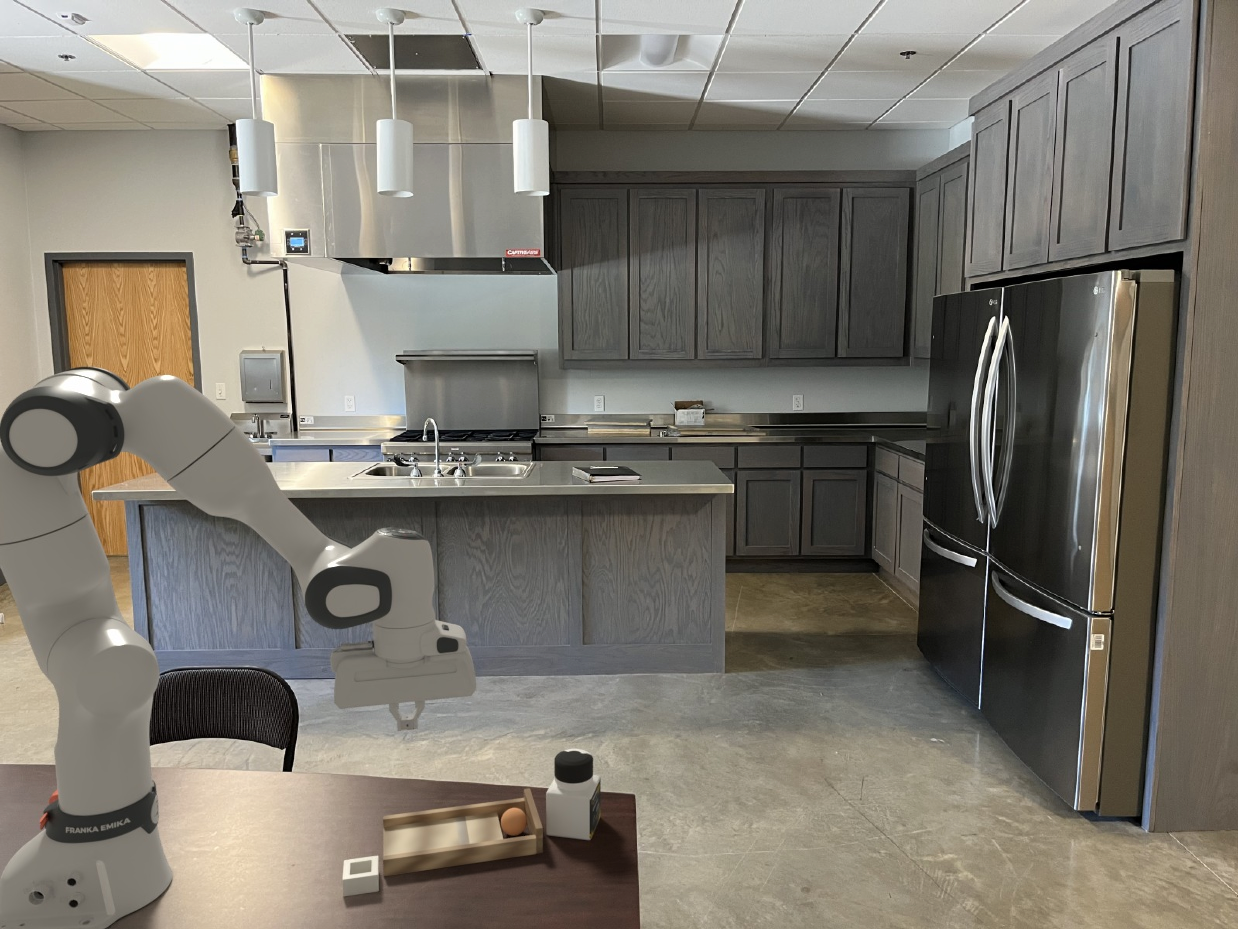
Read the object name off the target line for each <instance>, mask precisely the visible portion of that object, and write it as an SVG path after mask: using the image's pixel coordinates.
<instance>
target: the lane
mask: <svg viewBox="0 0 1238 929" xmlns="http://www.w3.org/2000/svg"><path fill="white" fill-rule="evenodd" d="M510 808H518V809H521V810H522V811H523V812H524V813H525V815H526V818H527V827H528V831H529V835H525V836H524V835H523V836H515V837H510V838H509V837H508V838H504V837H503V836H504V835H503V832H502V827H501V822H500V820H501V818H502V816H503V814H504V813H505V812H506V811H507V810H508V809H510ZM382 823H383V824H382V826H383V827H382V829H383V832H382V833H383V834H382V836H383V837H382V838H383V842H382V844H383V845H382V846H383V847H382V849H383V850H382V851H383V855H382V868H383V872H382V873H383V877H389V876H395V875H401V874H408V873H415V872H421V871H428V870H436V869H442V868H450V867H455V866H456V867H458V866H463V865H470V864H477V863H483V862H491V861H497V860H503V859H510V858H516V857H524V856H532V855H536V854H537V855H538V854H543V853H544V839H543V838H544V834H543V833H544V827H543V825H542V822H541V818H540V815H539V811H538V810H537V806H536V803H535V800H534V796H533V795H532V791H531V788H529V787H528V788H524V789H523V797H520V798H513V799H512V798H511V799H506V800H504V799H503V800H497V801H495V800H494V801H490V802H481V803H475V804H474V803H472V804H466V805H457V806H450V807H444V808H442V807H441V808H435V809H428V810H427V809H426V810H420V811H412V812H411V811H410V812H404V813H397V814H396V813H395V814H388V815H382Z"/></svg>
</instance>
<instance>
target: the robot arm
mask: <svg viewBox="0 0 1238 929" xmlns="http://www.w3.org/2000/svg"><path fill="white" fill-rule="evenodd" d="M121 453H127V454H132V455H134V456H136V457H137V458H139V459H141V460H143V462H145V463H146V464H147V465H149V466H150V467H151V468H152V470H154V471H155V472H156V473H157V474H158V475H159V476H160V477H161V478H162V479H163V480H164V481H166V483H167V484H168V485H169V486H170V487H171V488H172V489H174V491H175V492H177V493H178V495H180V496H181V497H182V498H184V499H185V500H186V501H188V502H190V503H191V504H192V505H193V506H195V507H196V508H198V509H200V510H201V511H203V512H204V513H206V514H208V515H209V516H214V517H222V518H223V517H224V518H230V519H232V520H236V521H239V522H242V523H243V524H245V525H246V526H248V527H249V528H251V529H252V530H254V531H255V532H256V533H257V534H258V535H259V536H260V537H261V538H262V539H264V541H266V542H267V543H268V544H269V545H270V547H272V548H273V549H274V550H275V551H276V552H277V553H278V555H280V556H281V557H282V558H283V559H285V560H286V561H287V562H288V563H289V565H290V567H291V568H292V571H293V572H294V575H295V579H296V581H297V585H298V588H299V589H300V591H301V594H302V597H303V598H302V599H303V603H304V605H305V610H306V611H307V613H308V616H310V618H311V620H313V621H314V622H315V623H316V624H318V625H319V626H322V627H323V628H327V629H332V630H344V629H349V628H354V627H357V626H362V625H365V624H369V623H371V622H372V637H373V640H366V641H359V642H358V641H357V642H344V643H341V644H340V646H337V647H335V648H334V649H333V650H332V651H331V652H330V656H329V661H330V669H331V671H332V673H333V674H335V676H334V687H333V692H334V693H333V703H334V705H335V706H336V707H337V708H339V710H340V709H342V710H343V709H344V710H345V709H353V708H364V707H372V706H373V707H374V706H383V705H384V706H385V705H388V712H389V713H390V714H391V716H392V717H393V718H394V720H395V721H396V722H397V724H396V725H397V726H396V728H397V732H402V731H403V732H404V731H413V730H418V726H419V724H418V719H419V718H420V716H421V715H422V713H423V711H424V709H425V708H426V706H425V702H426V701H433V700H434V701H435V700H436V701H437V700H444V699H446V700H447V699H455V698H457V699H458V698H465V697H471V696H473V695H474V693H475V692H476V690H477V677H476V671H475V665H474V661H473V658H472V654H471V651H470V648H469V647H468V646H467V634H466V632H465V630H464V628H463V627H462V626H461V625H458V624H454V623H450V622H445V621H441V620H437V619H436V611H435V609H434V606H433V595H434V592H435V569H434V560H433V553H432V548H431V545H430V542H429V540H428V539H427V538H426V537H425V536H423V535H422V534H421V533H420V532H417V531H415V530H412V529H408V528H403V527H391V526H390V527H383V528H382V527H381V528H379V529H377V530H375V531H374V532H373V534H372V535H371V536H369V537H368V538H367V539H365V540H364V541H362V542H361V543H359V544H358V545H356V546H353V545H351V544H350V543H348V542H345V541H343V540H340V539H337V538H335V537H333V536H329V535H328V534H325V533H324V532H323V531H321V530H320V529H319V527H317V526H316V525H315V524H314V523H313V522H312V521H311V520H310V519H309V518H308V516H306V515H305V514H304V512H302V511H301V510H300V509H299V507H297V506H296V505H295V504H294V503H293V502H292V501H291V500H290V499H289V498H288V497H287V496H286V495H285V494H284V492H283V491H282V489H281V487H280V486H279V485H278V483H277V481H276V479H275V477H274V475H273V473H272V471H271V469H270V467H269V466H268V463H267V462H266V460H265V458H264V457H263V455H262V454H261V453H260V451H259V450H258V449H257V447H256V446H255V445H254V443H253V442H252V440H251V439H250V438H249V437H248V436H247V435H246V434H245V433H244V431H243V430H242V429H241V428H240V427H239V425H237V424H236V423H235V422H234V421H233V419H231V418H230V417H229V416H228V415H227V414H226V413H225V412H224V411H223V410H221V409H220V407H219V406H218V405H216V404H215V403H214V402H213V401H211V399H209V398H208V397H207V396H205V395H204V394H203V393H201V392H200V391H199V390H198V389H196V388H195V387H193V385H191V384H189V383H188V382H186V381H185V380H183V379H182V378H180V377H177V376H175V375H171V374H170V375H169V374H164V375H163V374H161V375H155V376H152V377H149V378H147V379H144V380H142V381H140V382H138V383H137V384H136V385H134V386H133V387H132V388H131V387H130V386H129V384H128V383H127V382H126V381H125V380H124V379H123V378H122V377H120V376H119V375H117V374H116V373H114V372H112V371H110V370H108V369H105V368H103V367H102V368H101V367H96V366H78V367H72V368H69V369H67V370H65V371H62V372H58V373H56V374H52V375H51V376H47V377H46V378H43V379H42V380H40V381H38V382H37V383H36V384H35V385H34V386H33V387H30V389H28V390H25V391H24V392H21V394H19V395H18V396H16V397H15V398H13V400H12V401H11V402H10V404H9V405H8V406H7V408H6V409H5V411H4V413H3V414H2V417H1V420H0V569H1V572H2V575H3V576H4V579H5V581H6V583H7V586H8V588H9V590H10V593H11V595H12V597H13V600H14V602H15V605H16V608H17V612H18V614H19V617H20V620H21V623H22V626H23V628H24V632H25V633H26V636H27V640H28V642H29V645H30V648H31V649H32V652H33V655H34V657H35V660H36V662H37V665H38V667H39V669H40V671H41V672H42V673H43V675H44V676H45V677H46V678H47V679H48V680H49V681H50V683H51V684H52V685H53V688H54V690H55V692H56V696H57V701H58V727H57V728H58V729H57V739H56V743H55V746H54V749H53V754H54V764H55V775H56V776H55V777H56V778H55V779H56V785H57V786H56V787H57V789H56V790H55V791H54V792H53V793H52V795H51V796H50V798H49V799H48V805H47V806H46V807H44V810H43V813H42V814H43V815H42V816H41V818H40V819H39V823H38V824H40V826H39V830H42V831H40V832H39V833H37V834H36V835H35V836H33V838H31V839H30V840H29V841H28V842H26V843H24V845H23V846H21V848H19V850H17V851H16V852H15V853H14V855H13V856H12V857H11V858H10V860H9V861H8V862H7V864H6V865H5V867H4V869H3V871H2V873H1V875H0V929H107V928H108V927H109V926H111V925H112V924H113V923H115V922H116V921H118V920H119V919H121V918H123V917H125V916H127V915H130V914H131V913H133V912H135V911H137V910H139V909H141V908H143V907H145V906H147V905H149V904H150V903H152V902H153V901H154V900H156V899H157V898H158V897H159V896H160V895H162V894H163V892H165V891H166V890H167V888H168V887H169V885H170V884H171V882H172V879H173V870H172V868H171V866H170V864H169V861H168V859H167V856H166V854H165V851H164V848H163V844H162V840H161V836H160V832H159V827H158V824H159V819H160V807H159V806H160V804H159V795H158V791H157V784H156V782H155V780H153V774H152V759H151V744H150V725H151V724H150V723H151V722H150V721H151V715H152V709H153V701H154V694H155V692H156V691H157V688H158V686H159V682H160V677H161V676H160V666H159V662H158V659H157V656H156V654H155V651H154V650H153V647H152V645H151V644H150V642H149V641H148V640H147V639H146V638H144V637H143V636H142V635H141V634H139V633H138V632H137V631H136V630H134V629H133V628H132V627H131V626H130V625H129V624H128V623H127V621H126V620H125V618H124V616H123V614H122V613H121V611H120V607H119V604H118V601H117V598H116V594H115V590H114V585H113V581H112V576H111V564H110V561H109V560H108V558H107V554H106V553H105V549H104V547H103V545H102V542H101V539H100V537H99V534H98V531H97V529H96V527H95V525H94V522H93V519H92V517H91V514H90V512H89V510H88V507H87V504H86V502H85V500H84V498H83V495H82V493H81V489H80V486H79V481H78V473H79V472H82V471H84V470H87V469H90V468H91V467H94V466H97V465H100V464H103V463H106V462H107V461H108V462H109V461H110V460H113V459H116V458H117V457H119V455H120V454H121ZM404 703H414V707H415V709H414V711H413V712H412V713H411V714H401V712H400V711H399V709H400V708H399V707H400V704H404Z"/></svg>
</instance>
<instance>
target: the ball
mask: <svg viewBox="0 0 1238 929" xmlns="http://www.w3.org/2000/svg"><path fill="white" fill-rule="evenodd" d="M527 826H528V824H527V818H526V815H525V813H524V812H523V811H522V810H521V809H518V808H510V809H508V810H507V811H506V812H505V813H504V814H503V816H502V818H501V819H500V828H501V830H502V831H503V832H504V833H505V834H507V835H509V836H511V837H514V836H515V837H517V836H518V835H520V834H522V833H523V832H524V830H525V829H526V827H527Z"/></svg>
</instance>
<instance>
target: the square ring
mask: <svg viewBox="0 0 1238 929" xmlns="http://www.w3.org/2000/svg"><path fill="white" fill-rule="evenodd" d="M379 862H380V861H379V855H373V856H364V857H356V858H351V859H345V860H343V867H342V868H343V869H342V870H343V871H342V898H343V897H350V896H356V895H363V894H368V893H369V894H370V893H376V892H379V890H380V889H379V888H380V886H379V884H380V882H379V881H380V866H379Z"/></svg>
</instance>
